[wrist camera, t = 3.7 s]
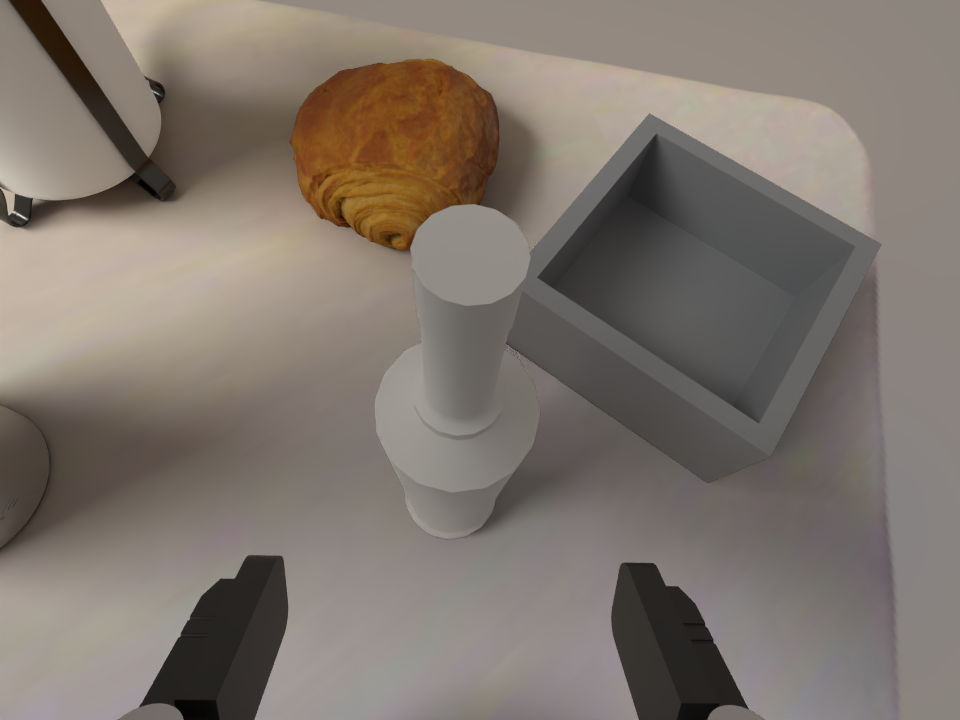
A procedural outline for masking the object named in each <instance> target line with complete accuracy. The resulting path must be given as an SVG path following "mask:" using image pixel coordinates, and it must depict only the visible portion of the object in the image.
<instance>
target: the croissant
mask: <svg viewBox="0 0 960 720" xmlns="http://www.w3.org/2000/svg"><path fill="white" fill-rule="evenodd" d="M290 143H291V144H292V147H293V149H294V151H295V153H294V161H295V163H296V164H297V172H298V180H299V186H300V189H301V191H302V194H303V196H304V197H305V199H306V201H307V202H309V203H310V204H311V206H312V207H313V208H314V210H315V211H316V213H317V215H318V216H319V217H320V218H321V219H328V220H330V221H331V222H333V223H334V224H335V225H337V226H344V227H349V226H351V227H352V229H353V230H354V231H356V232H357V233H358V234H359V235H361V236H362V237H365V238H367V239H368V240H369V241H371V242H375V243H377V244H380V245H383V246H387V247H392V248H396V249H397V250H411V249H410V248H411V245H412V242H413V239H414V237H415V234H416V231H417V229H418V228H419V227H420V226H421V225H422V224H423V223H424V222H425V221H426V220H427V219H428V218H429V217H430V216H431V215H432V214H434V213H437V212H439V211H441V210H444V209H446V208H448V207H450V206H457V205H470V204H476V205H478V204H479V202H480V200H481V198H482V196H483V194H484V192H485V191H484V188H485V185H486V181H487V178H488V175H491V174H492V172H493V170H494V168H495V165H496V161H497V155H498V145H499V121H498V114H497V107H496V105H495V103H494V100H493V98H492V95H491V94H490V93H489V92H487V91H486V90H484V89H482V88H481V87H480V86H479V85H478V84H477V83H476V82H475V81H474V80H473V79H472V78H471V77H470V76H469V75H466V74H464V73H462V72H460V71H457V70H456V69H454V68H453V67H452V66H449V65H446V64H444V63H442V62H441V61H438V60H434V59H425V60H420V59H417V60H405V61H402V62H397V63H391V64H383V63H377V64H372V65H368V66H363V67H359V68H355V69H347V70H342V71H339V72H338V73H337V74H335V75H334V76H333V77H331V78H330V79H329V80H327V81H326V82H325V83H323V84H321V85H320V86H318V87H317V88H316V89H315V90H314V91H313V92H312V93H311V94H310V95H309V96H308V97H307V99H306V100H305V102H304V103H303V105H302V106H301V107H300V109H299V112H298V114H297V118H296V122H295V126H294V132H293V134H292V137H291V139H290Z"/></svg>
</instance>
